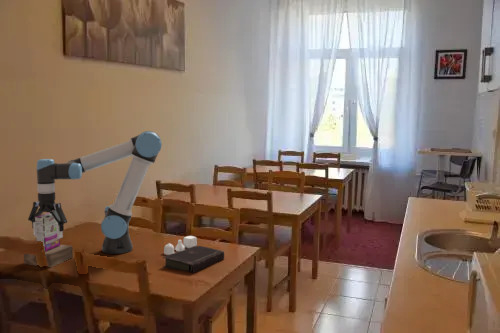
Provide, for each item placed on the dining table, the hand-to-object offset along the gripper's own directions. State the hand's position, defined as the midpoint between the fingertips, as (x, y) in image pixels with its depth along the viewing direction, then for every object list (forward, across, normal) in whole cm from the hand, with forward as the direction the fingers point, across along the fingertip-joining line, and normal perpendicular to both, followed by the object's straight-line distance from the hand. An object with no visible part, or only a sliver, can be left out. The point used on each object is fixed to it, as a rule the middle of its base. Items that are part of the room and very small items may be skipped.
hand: (48, 236), depth 224 cm
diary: (+12, -66, -21) cm, 70 cm away
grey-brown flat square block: (+12, 0, 0) cm, 12 cm away
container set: (+12, -50, -37) cm, 64 cm away
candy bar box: (+6, 0, 0) cm, 6 cm away
